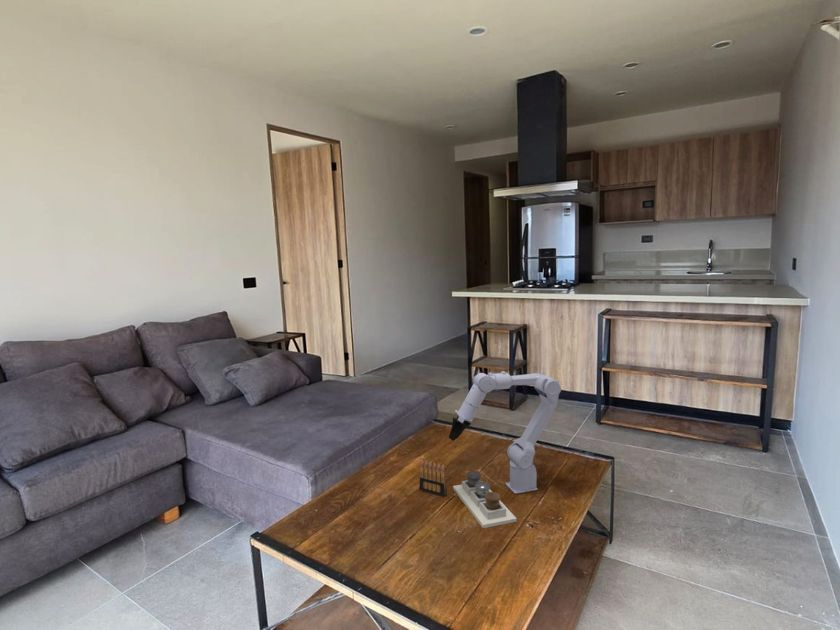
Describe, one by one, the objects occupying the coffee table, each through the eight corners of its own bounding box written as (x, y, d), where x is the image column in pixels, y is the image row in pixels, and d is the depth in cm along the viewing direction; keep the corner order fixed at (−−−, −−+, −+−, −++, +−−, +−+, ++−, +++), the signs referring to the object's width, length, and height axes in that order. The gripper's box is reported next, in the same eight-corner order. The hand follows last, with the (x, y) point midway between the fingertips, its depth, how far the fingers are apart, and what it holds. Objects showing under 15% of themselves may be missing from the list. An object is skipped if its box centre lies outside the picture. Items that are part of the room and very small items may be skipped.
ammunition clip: (419, 490, 176) (418, 459, 174) (421, 488, 177) (421, 457, 176) (444, 497, 170) (444, 465, 169) (446, 494, 172) (446, 463, 170)
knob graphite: (477, 480, 175) (477, 470, 175) (483, 486, 170) (483, 476, 170) (464, 482, 174) (464, 472, 173) (469, 488, 169) (469, 479, 168)
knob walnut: (496, 501, 160) (496, 491, 160) (503, 509, 155) (503, 498, 155) (482, 503, 159) (482, 493, 158) (488, 511, 154) (488, 501, 153)
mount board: (482, 484, 179) (482, 474, 179) (516, 521, 154) (516, 511, 153) (453, 488, 176) (453, 479, 176) (482, 528, 150) (482, 517, 150)
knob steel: (486, 490, 168) (486, 480, 167) (492, 497, 163) (492, 487, 162) (472, 492, 166) (472, 482, 166) (478, 499, 161) (478, 489, 161)
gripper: (464, 398, 175) (446, 430, 175) (458, 399, 161) (439, 434, 161) (480, 408, 173) (463, 440, 173) (476, 410, 159) (457, 445, 159)
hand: (452, 438), depth 167 cm, fingers open, 7 cm apart
